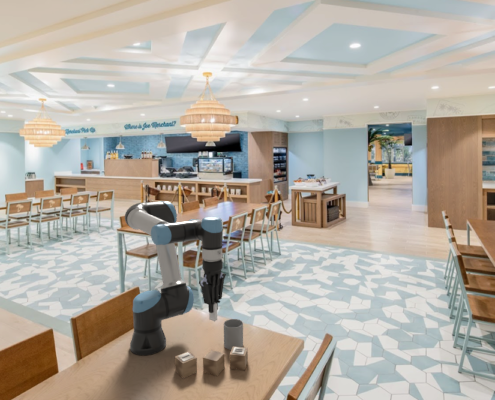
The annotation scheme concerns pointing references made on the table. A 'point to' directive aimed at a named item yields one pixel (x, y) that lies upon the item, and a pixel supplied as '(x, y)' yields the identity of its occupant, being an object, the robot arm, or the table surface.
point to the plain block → (213, 362)
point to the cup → (233, 333)
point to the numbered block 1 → (186, 364)
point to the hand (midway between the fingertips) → (213, 319)
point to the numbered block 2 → (238, 358)
